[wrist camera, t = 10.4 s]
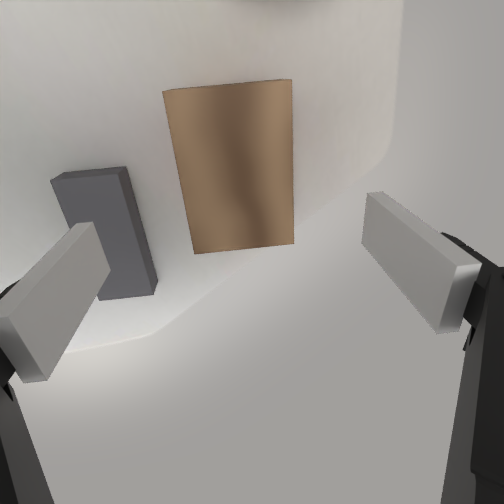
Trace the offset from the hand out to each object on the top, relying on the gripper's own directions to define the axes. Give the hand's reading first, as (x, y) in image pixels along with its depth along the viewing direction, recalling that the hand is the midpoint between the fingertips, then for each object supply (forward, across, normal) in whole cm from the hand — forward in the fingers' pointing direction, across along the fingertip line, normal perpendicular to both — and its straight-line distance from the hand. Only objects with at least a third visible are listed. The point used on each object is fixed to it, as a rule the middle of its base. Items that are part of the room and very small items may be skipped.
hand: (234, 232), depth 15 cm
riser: (+21, -14, -8) cm, 27 cm away
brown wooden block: (+16, 0, 0) cm, 16 cm away
